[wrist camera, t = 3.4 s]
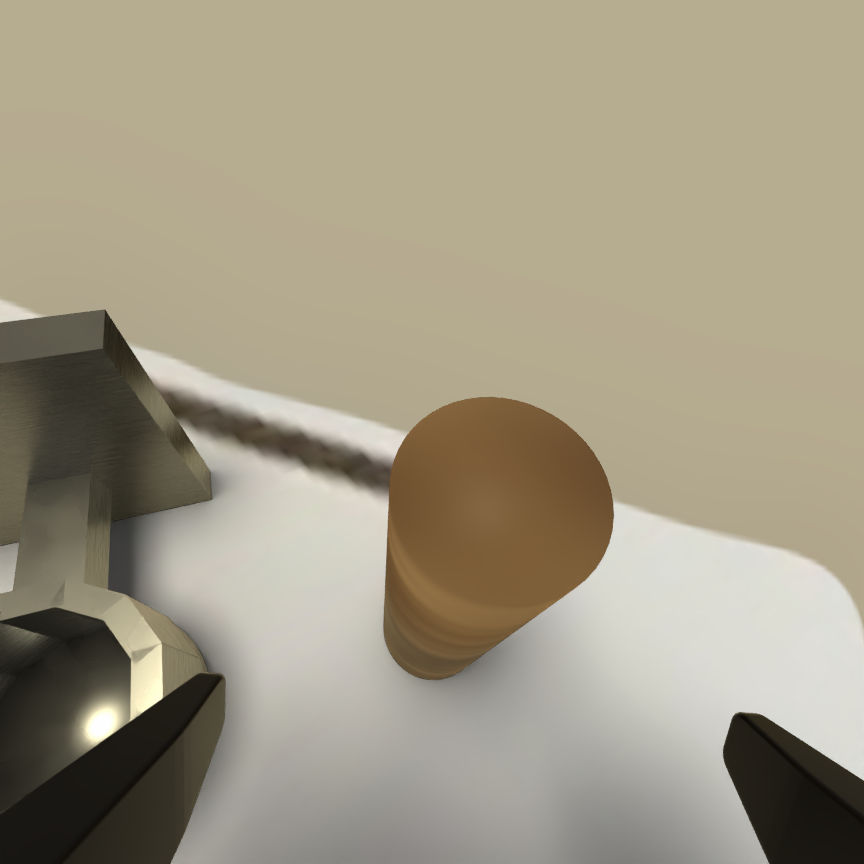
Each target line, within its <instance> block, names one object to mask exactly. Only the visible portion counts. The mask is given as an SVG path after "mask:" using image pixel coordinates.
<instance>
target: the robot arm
mask: <svg viewBox="0 0 864 864" xmlns="http://www.w3.org/2000/svg"><path fill="white" fill-rule="evenodd" d="M225 684H226V683H225V677H224V675H222V674H220V673H208V672H201V673H198V674H196V675H195V676H193V677H192V678H190V679H189V680H188V681H186V682H185V683H183V684H182V685H181V686H179V687H178V688H176V689H175V690H174V691H172V692H171V693H169V694H168V695H166V696H165V697H164V698H162V699H161V700H159V701H158V702H157V703H155V704H154V705H152V706H151V707H150V708H148V709H147V710H145V711H144V712H143V713H141V714H140V715H138V716H137V717H135V718H134V719H133V720H131V721H130V722H128V723H127V724H126V725H124V726H123V727H121V728H120V729H119V730H117V731H116V732H114V733H113V734H112V735H110V736H109V737H107V738H106V739H105V740H103V741H102V742H100V743H99V744H97V745H96V746H95V747H93V748H92V749H90V750H89V751H88V752H86V753H85V754H83V755H82V756H81V757H79V758H78V759H76V760H75V761H74V762H72V763H71V764H69V765H68V766H66V767H65V768H64V769H62V770H61V771H59V772H58V773H57V774H55V775H54V776H52V777H51V778H50V779H48V780H47V781H45V782H44V783H43V784H41V785H40V786H38V787H37V788H36V789H34V790H33V791H31V792H30V793H28V794H27V795H26V796H24V797H23V798H21V799H20V800H19V801H17V802H16V803H14V804H13V805H12V806H10V807H9V808H7V809H6V810H5V811H3V812H2V813H0V864H170V863H171V861H172V859H173V857H174V855H175V853H176V851H177V848H178V846H179V844H180V842H181V839H182V837H183V835H184V832H185V830H186V827H187V825H188V822H189V819H190V817H191V814H192V811H193V808H194V806H195V803H196V800H197V797H198V795H199V792H200V789H201V786H202V783H203V781H204V778H205V775H206V772H207V770H208V767H209V764H210V761H211V758H212V756H213V753H214V750H215V747H216V745H217V742H218V739H219V736H220V734H221V731H222V727H223V724H224V718H225ZM723 758H724V762H725V765H726V768H727V770H728V772H729V775H730V777H731V779H732V781H733V784H734V786H735V788H736V790H737V793H738V795H739V797H740V799H741V802H742V804H743V806H744V808H745V811H746V813H747V815H748V817H749V820H750V822H751V824H752V826H753V829H754V831H755V833H756V835H757V838H758V840H759V842H760V844H761V847H762V849H763V851H764V853H765V855H766V857H767V860H768V862H769V864H864V781H863V780H862V779H860V778H859V777H857V776H856V775H854V774H853V773H851V772H849V771H848V770H846V769H845V768H843V767H842V766H840V765H839V764H837V763H836V762H834V761H832V760H831V759H829V758H828V757H826V756H825V755H823V754H822V753H820V752H819V751H817V750H815V749H814V748H812V747H811V746H809V745H808V744H806V743H805V742H803V741H802V740H800V739H799V738H797V737H795V736H794V735H792V734H791V733H789V732H788V731H786V730H785V729H783V728H782V727H780V726H778V725H777V724H775V723H774V722H772V721H771V720H769V719H768V718H766V717H765V716H763V715H760V714H757V713H745V712H739V713H736V714H735V715H734V716H733V717H732V720H731V723H730V727H729V730H728V734H727V737H726V740H725V744H724V747H723Z"/></svg>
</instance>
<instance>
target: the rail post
mask: <svg viewBox="0 0 864 864" xmlns="http://www.w3.org/2000/svg"><path fill="white" fill-rule="evenodd" d="M613 519H614V512H613V500H612V494H611V489H610V486H609V484H608V480H607V477H606V475H605V473H604V470H603V468H602V466H601V464H600V462H599V461H598V459H597V457H596V456H595V454H594V452H593V451H592V450H591V449H590V447H589V446H588V445H587V443H586V442H585V441H584V440H583V439H582V438H581V437H580V436H579V435H578V434H577V433H576V432H575V431H574V430H573V429H571V428H570V427H569V426H568V425H567V424H565V423H564V422H563V421H561V420H559V419H558V418H557V417H555V416H553V415H552V414H550V413H548V412H546V411H544V410H542V409H540V408H537V407H535V406H532V405H530V404H527V403H524V402H520V401H516V400H511V399H506V398H495V397H479V398H471V399H465V400H462V401H457V402H454V403H451V404H448V405H446V406H443V407H441V408H439V409H438V410H436V411H434V412H432V413H431V414H429V415H428V416H427V417H425V418H424V419H422V420H421V421H420V422H419V423H418V424H417V425H416V426H415V427H414V428H413V429H412V430H411V431H410V432H409V434H408V435H407V436H406V438H405V439H404V441H403V442H402V444H401V446H400V448H399V449H398V452H397V454H396V457H395V459H394V462H393V466H392V471H391V476H390V488H389V511H388V533H387V556H386V579H385V602H384V625H383V626H384V637H385V641H386V645H387V647H388V650H389V652H390V654H391V655H392V657H393V659H394V660H395V661H396V662H397V664H398V665H399V666H401V667H402V668H403V669H404V670H405V671H407V672H408V673H410V674H412V675H414V676H416V677H419V678H422V679H428V680H438V679H444V678H448V677H450V676H453V675H455V674H456V673H458V672H460V671H461V670H463V669H464V668H465V667H467V666H468V665H469V664H471V663H472V662H474V661H475V660H476V659H478V658H479V657H481V656H482V655H483V654H485V653H486V652H487V651H489V650H490V649H492V648H493V647H494V646H496V645H497V644H499V643H500V642H501V641H503V640H504V639H505V638H507V637H508V636H510V635H511V634H512V633H514V632H515V631H517V630H518V629H519V628H521V627H522V626H523V625H525V624H526V623H528V622H529V621H530V620H532V619H533V618H535V617H536V616H537V615H539V614H540V613H541V612H543V611H544V610H546V609H547V608H548V607H550V606H551V605H553V604H554V603H555V602H557V601H558V600H559V599H561V598H562V597H564V596H565V595H566V594H568V593H569V592H571V591H572V590H573V589H575V588H576V587H577V586H578V585H580V584H581V583H582V582H583V581H585V580H586V579H587V578H588V577H589V576H590V574H591V573H592V572H593V571H594V570H595V569H596V567H597V566H598V564H599V563H600V561H601V560H602V558H603V556H604V554H605V552H606V549H607V547H608V545H609V542H610V538H611V534H612V529H613Z"/></svg>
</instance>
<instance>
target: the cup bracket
mask: <svg viewBox="0 0 864 864" xmlns="http://www.w3.org/2000/svg"><path fill="white" fill-rule="evenodd" d="M207 500H212V494H211V481H210V470H209V468H208V467H207V465H206V464H205V462H204V461H203V459H202V458H201V456H200V455H199V453H198V452H197V450H196V449H195V447H194V445H193V444H192V442H191V441H190V439H189V438H188V436H187V435H186V433H185V432H184V430H183V429H182V427H181V425H180V424H179V422H178V421H177V419H176V418H175V416H174V415H173V413H172V412H171V410H170V409H169V407H168V405H167V404H166V402H165V401H164V399H163V398H162V396H161V395H160V393H159V392H158V390H157V389H156V387H155V386H154V384H153V382H152V381H151V379H150V378H149V376H148V375H147V373H146V372H145V370H144V369H143V367H142V366H141V364H140V362H139V361H138V359H137V358H136V356H135V355H134V353H133V352H132V350H131V349H130V347H129V346H128V344H127V343H126V341H125V339H124V338H123V336H122V335H121V333H120V332H119V330H118V329H117V327H116V326H115V324H114V323H113V321H112V319H111V318H110V316H109V315H108V313H107V312H106V310H99V311H90V312H82V313H74V314H66V315H58V316H50V317H42V318H34V319H26V320H18V321H11V322H3V323H0V546H1V545H6V544H10V543H15V542H19V541H20V542H19V549H18V557H17V564H16V572H15V579H14V586H13V591H11V592H6V593H2V594H0V813H2V812H3V811H5V810H6V809H7V808H9V807H10V806H12V805H13V804H14V803H16V802H17V801H19V800H20V799H21V798H23V797H24V796H26V795H27V794H28V793H30V792H31V791H33V790H34V789H36V788H37V787H38V786H40V785H41V784H43V783H44V782H45V781H47V780H48V779H50V778H51V777H52V776H54V775H55V774H57V773H58V772H59V771H61V770H62V769H64V768H65V767H66V766H68V765H69V764H71V763H72V762H74V761H75V760H76V759H78V758H79V757H81V756H82V755H83V754H85V753H86V752H88V751H89V750H90V749H92V748H93V747H95V746H96V745H97V744H99V743H100V742H102V741H103V740H105V739H106V738H107V737H109V736H110V735H112V734H113V733H114V732H116V731H117V730H119V729H120V728H121V727H123V726H124V725H126V724H127V723H128V722H130V721H131V720H133V719H134V718H135V717H137V716H138V715H140V714H141V713H143V712H144V711H145V710H147V709H148V708H150V707H151V706H152V705H154V704H155V703H157V702H158V701H159V700H161V699H162V698H164V697H165V696H166V695H168V694H169V693H171V692H172V691H174V690H175V689H176V688H178V687H179V686H181V685H182V684H183V683H185V682H186V681H188V680H189V679H190V678H192V677H193V676H195V675H196V674H198V673H201V672H207V668H206V665H205V662H204V660H203V658H202V655H201V653H200V651H199V650H198V648H197V647H196V645H195V643H194V642H193V641H192V640H191V639H190V638H189V636H188V635H187V634H186V633H185V632H183V631H182V630H181V629H180V628H178V627H177V626H175V625H174V623H173V622H172V621H171V619H170V618H168V617H167V616H165V615H163V614H161V613H159V612H157V611H155V610H154V609H152V608H150V607H148V606H146V605H144V604H142V603H140V602H139V601H137V600H135V599H133V598H131V597H129V596H127V595H125V594H122V593H118V592H114V591H111V590H108V575H109V548H110V522H111V521H116V520H120V519H125V518H129V517H134V516H138V515H143V514H148V513H152V512H157V511H161V510H166V509H171V508H175V507H180V506H184V505H189V504H193V503H198V502H203V501H207Z"/></svg>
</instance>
